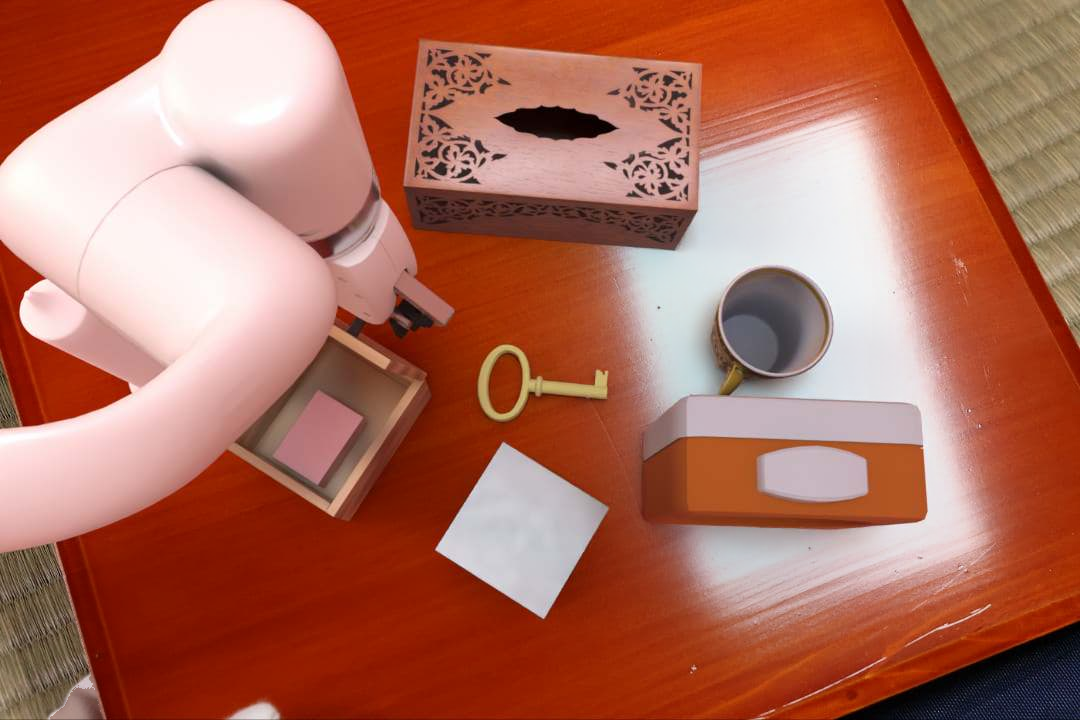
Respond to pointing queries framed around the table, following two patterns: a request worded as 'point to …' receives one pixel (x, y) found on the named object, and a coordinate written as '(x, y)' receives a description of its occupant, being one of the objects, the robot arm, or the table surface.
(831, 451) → the orange white box
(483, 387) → the key
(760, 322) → the ceramic cup
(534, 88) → the tissue box cover
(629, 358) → the table surface
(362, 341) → the lid
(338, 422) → the pale pink rectangular box
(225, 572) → the table surface
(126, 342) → the candle
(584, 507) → the stand
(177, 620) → the table surface
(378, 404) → the chest
